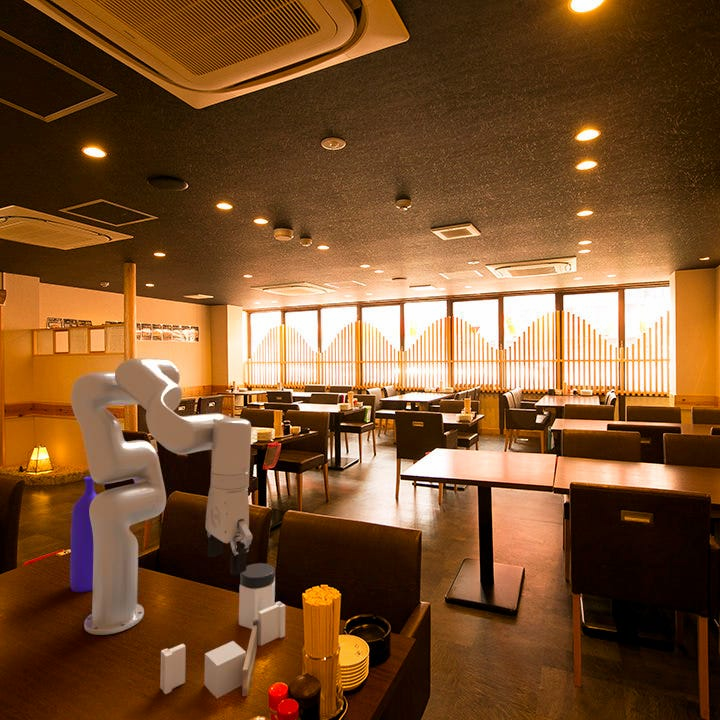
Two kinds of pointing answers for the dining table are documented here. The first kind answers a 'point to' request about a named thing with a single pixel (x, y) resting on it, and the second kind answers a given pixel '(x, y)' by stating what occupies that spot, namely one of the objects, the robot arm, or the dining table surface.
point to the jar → (255, 592)
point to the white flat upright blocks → (174, 658)
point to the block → (224, 668)
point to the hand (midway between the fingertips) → (226, 563)
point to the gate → (250, 658)
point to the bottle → (82, 541)
